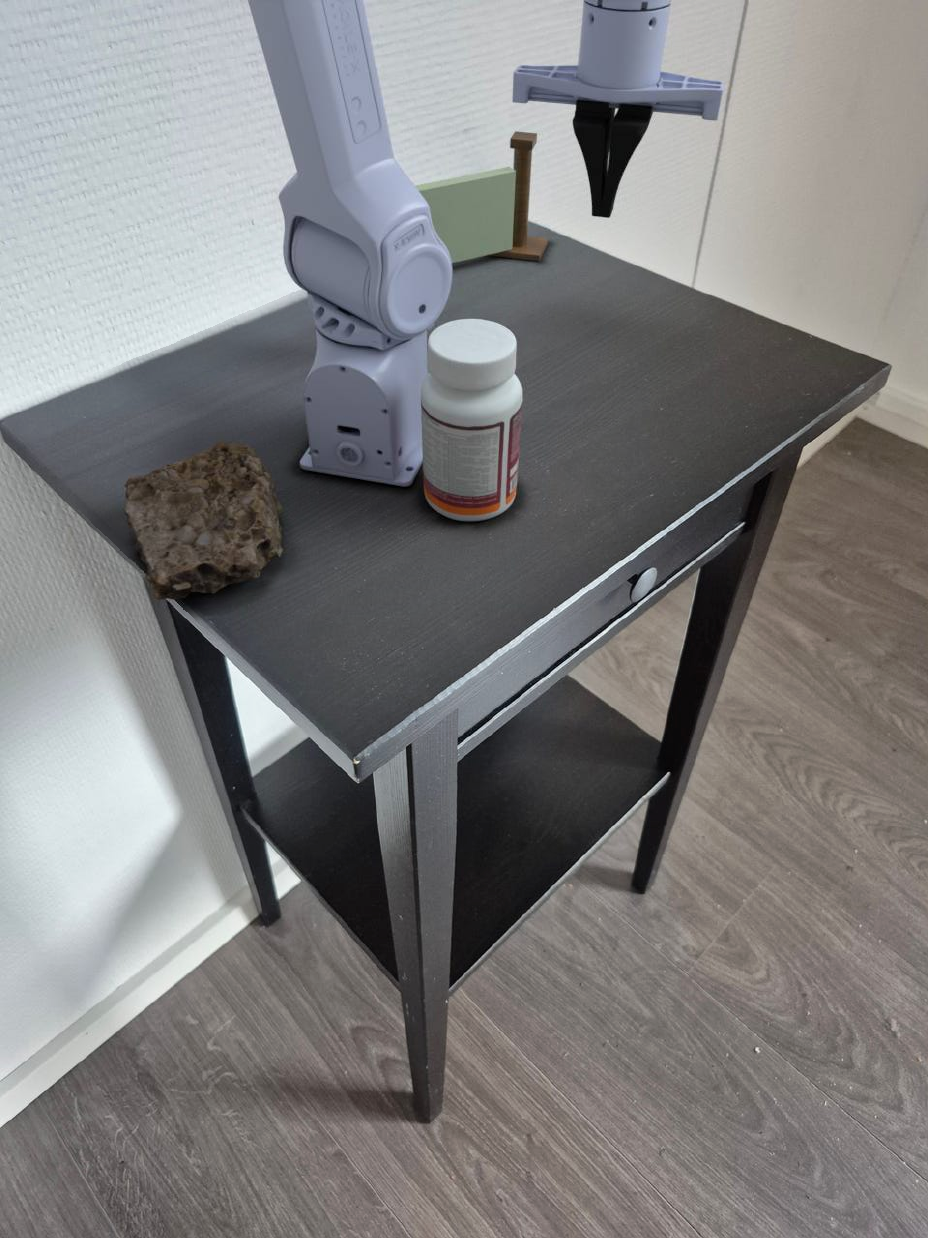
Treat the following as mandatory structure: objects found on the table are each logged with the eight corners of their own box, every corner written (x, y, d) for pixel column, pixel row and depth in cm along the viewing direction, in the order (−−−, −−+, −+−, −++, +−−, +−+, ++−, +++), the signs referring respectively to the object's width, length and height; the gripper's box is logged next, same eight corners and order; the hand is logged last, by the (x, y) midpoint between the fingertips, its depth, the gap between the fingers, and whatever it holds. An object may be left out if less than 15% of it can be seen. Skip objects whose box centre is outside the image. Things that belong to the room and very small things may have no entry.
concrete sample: (243, 407, 57) (248, 464, 61) (83, 454, 53) (100, 512, 57) (326, 530, 52) (326, 583, 56) (157, 593, 48) (170, 645, 52)
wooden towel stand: (539, 261, 84) (547, 145, 76) (487, 255, 85) (490, 140, 77) (547, 243, 86) (556, 130, 79) (497, 238, 87) (501, 125, 80)
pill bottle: (475, 457, 62) (479, 303, 54) (535, 500, 59) (548, 343, 51) (405, 491, 59) (397, 334, 51) (463, 538, 56) (464, 378, 48)
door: (394, 282, 79) (390, 201, 74) (384, 272, 80) (379, 192, 75) (517, 253, 83) (522, 174, 78) (505, 244, 84) (509, 166, 79)
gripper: (741, -6, 60) (701, 202, 70) (531, -19, 63) (521, 183, 72) (736, 20, 55) (694, 238, 65) (509, 4, 58) (501, 216, 68)
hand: (602, 211), depth 68 cm, fingers closed
